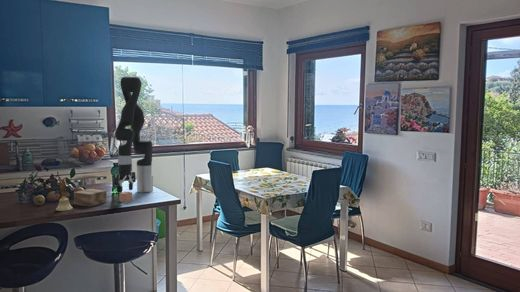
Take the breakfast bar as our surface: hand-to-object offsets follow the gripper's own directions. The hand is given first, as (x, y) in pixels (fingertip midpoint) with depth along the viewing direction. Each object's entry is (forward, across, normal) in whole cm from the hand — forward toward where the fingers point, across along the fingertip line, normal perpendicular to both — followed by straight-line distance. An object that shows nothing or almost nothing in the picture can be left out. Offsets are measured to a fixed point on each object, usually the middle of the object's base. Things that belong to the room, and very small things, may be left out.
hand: (125, 191), depth 240 cm
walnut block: (+6, +13, -13) cm, 20 cm away
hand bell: (+7, +29, -14) cm, 33 cm away
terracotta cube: (+6, -1, 0) cm, 6 cm away
